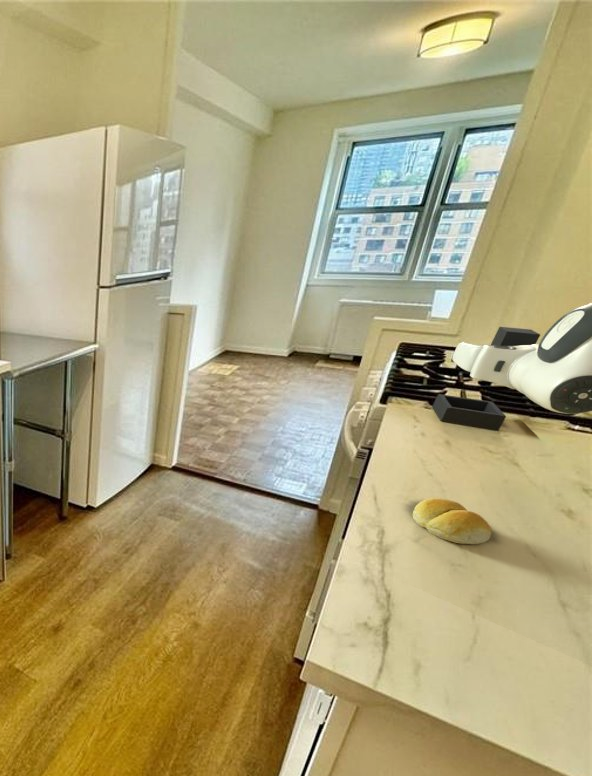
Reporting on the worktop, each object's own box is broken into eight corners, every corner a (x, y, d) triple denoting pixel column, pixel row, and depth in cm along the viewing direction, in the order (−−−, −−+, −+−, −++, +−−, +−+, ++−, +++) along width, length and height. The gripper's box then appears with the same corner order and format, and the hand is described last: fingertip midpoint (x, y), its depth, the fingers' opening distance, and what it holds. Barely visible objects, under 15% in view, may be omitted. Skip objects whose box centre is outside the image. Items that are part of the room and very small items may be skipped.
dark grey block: (507, 375, 104) (531, 329, 100) (515, 382, 100) (540, 334, 96) (477, 371, 107) (499, 326, 102) (483, 378, 103) (507, 331, 98)
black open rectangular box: (485, 415, 114) (492, 401, 112) (498, 430, 106) (506, 416, 105) (431, 407, 118) (438, 393, 117) (440, 421, 111) (447, 407, 109)
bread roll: (444, 510, 79) (456, 490, 77) (497, 545, 71) (511, 523, 69) (395, 511, 78) (405, 490, 76) (443, 546, 70) (455, 524, 69)
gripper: (625, 359, 85) (582, 341, 96) (476, 345, 93) (452, 330, 104) (604, 393, 88) (565, 372, 99) (461, 377, 96) (440, 359, 107)
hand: (506, 350), depth 102 cm, fingers closed on dark grey block, 5 cm apart
